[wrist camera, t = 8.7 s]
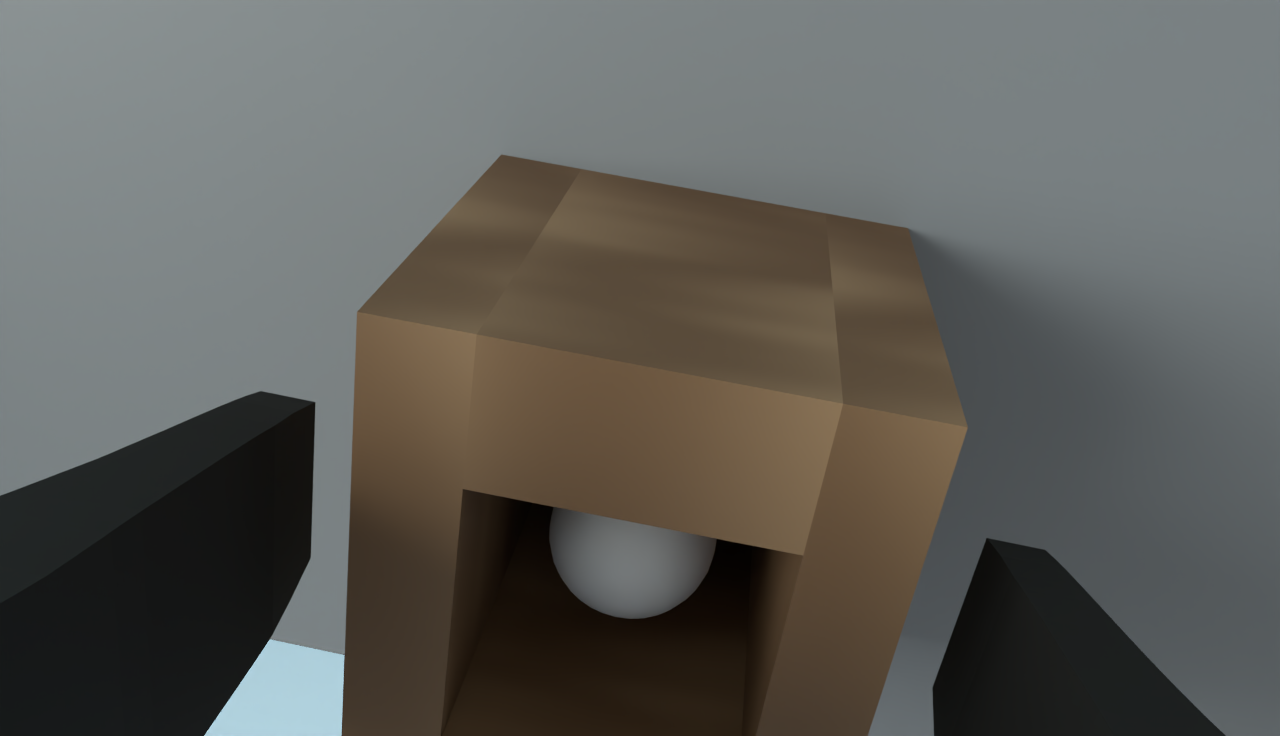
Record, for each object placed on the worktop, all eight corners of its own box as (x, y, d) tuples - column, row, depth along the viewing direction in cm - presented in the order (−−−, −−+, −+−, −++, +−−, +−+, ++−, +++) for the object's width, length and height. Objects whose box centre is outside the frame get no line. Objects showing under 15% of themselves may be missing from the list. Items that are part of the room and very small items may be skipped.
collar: (908, 227, 13) (967, 427, 9) (801, 619, 16) (806, 925, 11) (501, 154, 13) (357, 311, 9) (464, 552, 16) (337, 826, 12)
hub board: (1761, -170, 11) (2396, -177, 7) (1227, 794, 18) (1376, 1121, 13) (-90, -485, 12) (-602, -675, 8) (26, 543, 18) (-218, 769, 14)
